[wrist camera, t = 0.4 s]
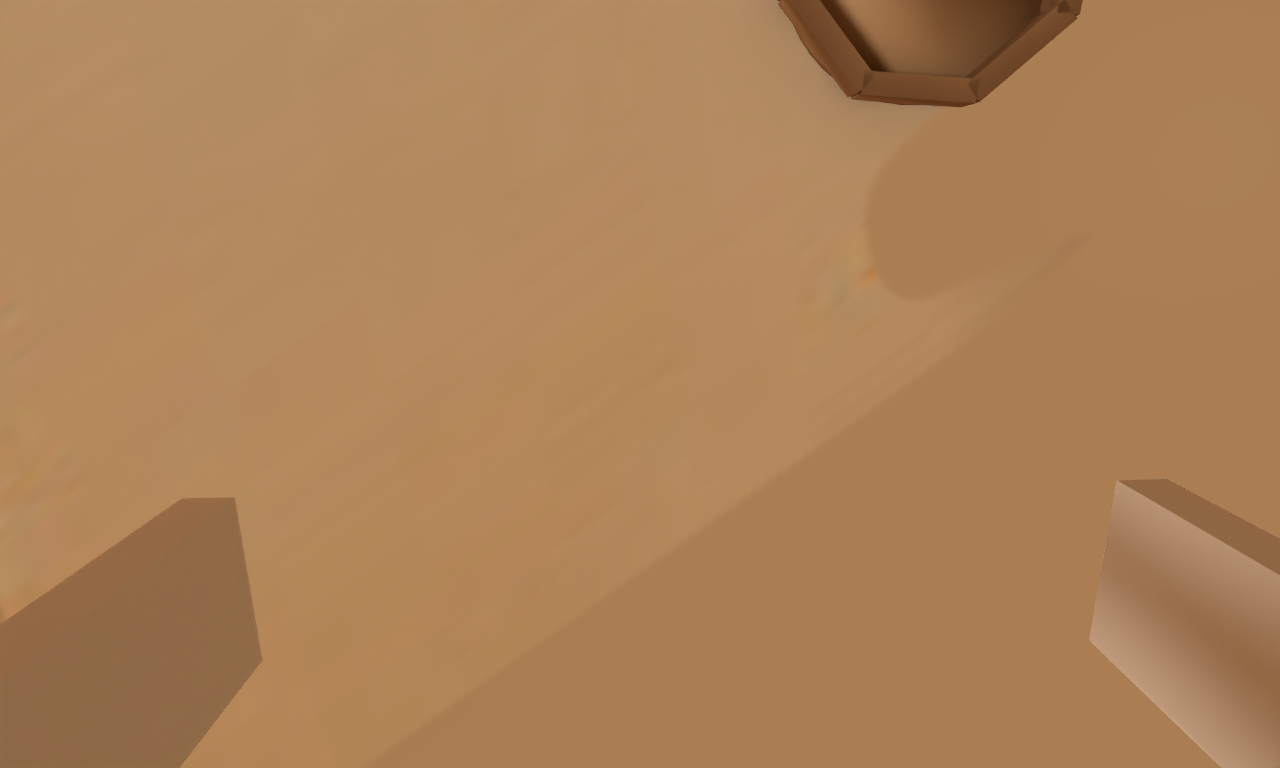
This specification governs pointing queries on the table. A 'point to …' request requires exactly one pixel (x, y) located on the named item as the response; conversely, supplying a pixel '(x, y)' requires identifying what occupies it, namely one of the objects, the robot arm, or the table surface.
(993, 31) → the coaster ring
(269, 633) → the table surface
